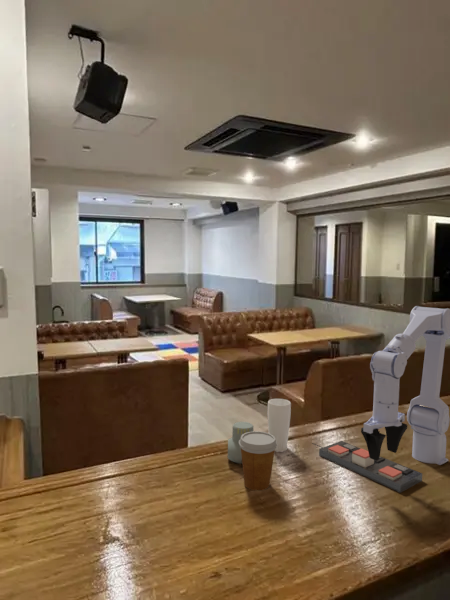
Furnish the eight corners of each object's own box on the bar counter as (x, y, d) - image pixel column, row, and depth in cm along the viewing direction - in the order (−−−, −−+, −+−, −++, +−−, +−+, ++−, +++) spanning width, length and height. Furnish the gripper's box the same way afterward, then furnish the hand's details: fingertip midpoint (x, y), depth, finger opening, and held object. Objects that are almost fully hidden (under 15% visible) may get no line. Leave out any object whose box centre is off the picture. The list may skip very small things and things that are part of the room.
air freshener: (258, 468, 118) (258, 432, 117) (227, 468, 118) (228, 432, 117) (255, 451, 129) (256, 418, 128) (227, 450, 129) (228, 417, 128)
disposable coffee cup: (255, 471, 116) (256, 427, 115) (283, 484, 109) (285, 438, 108) (229, 483, 109) (230, 437, 108) (258, 498, 103) (259, 449, 102)
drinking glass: (288, 457, 125) (290, 406, 124) (265, 455, 126) (266, 404, 125) (290, 447, 131) (291, 399, 130) (267, 445, 133) (268, 397, 132)
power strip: (322, 442, 136) (323, 431, 135) (421, 484, 110) (422, 471, 110) (300, 450, 130) (301, 439, 129) (399, 497, 104) (400, 483, 104)
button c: (387, 476, 112) (387, 465, 112) (401, 482, 109) (402, 471, 109) (378, 480, 110) (378, 470, 110) (392, 487, 107) (393, 476, 106)
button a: (336, 454, 125) (337, 444, 125) (348, 459, 122) (348, 449, 122) (327, 457, 123) (328, 448, 122) (339, 463, 119) (339, 453, 119)
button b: (361, 458, 118) (361, 448, 118) (373, 463, 115) (374, 453, 115) (351, 462, 116) (352, 451, 116) (364, 467, 113) (365, 457, 113)
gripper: (383, 410, 98) (380, 469, 99) (417, 399, 107) (414, 453, 108) (356, 402, 104) (354, 457, 105) (391, 392, 112) (388, 443, 114)
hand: (383, 455), depth 107 cm, fingers open, 7 cm apart
